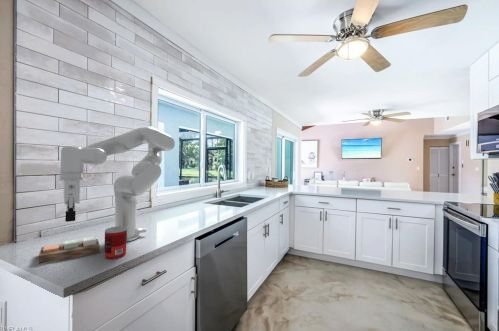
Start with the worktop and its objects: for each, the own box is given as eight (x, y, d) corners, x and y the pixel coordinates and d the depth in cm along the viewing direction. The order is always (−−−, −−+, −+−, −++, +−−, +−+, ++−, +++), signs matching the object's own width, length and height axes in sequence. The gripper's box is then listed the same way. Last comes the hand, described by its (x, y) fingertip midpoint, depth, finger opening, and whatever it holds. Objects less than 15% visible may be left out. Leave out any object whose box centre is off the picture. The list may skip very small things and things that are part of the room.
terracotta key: (59, 251, 93) (59, 244, 93) (58, 255, 90) (58, 247, 90) (44, 254, 91) (44, 246, 91) (42, 258, 87) (43, 250, 87)
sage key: (78, 246, 97) (78, 239, 97) (78, 249, 94) (78, 242, 94) (64, 248, 94) (64, 241, 94) (63, 251, 91) (63, 244, 91)
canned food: (129, 251, 98) (130, 226, 98) (119, 259, 90) (120, 231, 90) (111, 251, 97) (112, 225, 97) (100, 259, 89) (100, 231, 89)
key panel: (97, 245, 104) (97, 238, 104) (99, 252, 96) (99, 245, 96) (41, 254, 93) (41, 247, 93) (38, 264, 84) (38, 256, 84)
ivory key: (95, 243, 101) (95, 236, 101) (96, 246, 97) (96, 239, 97) (82, 245, 98) (82, 238, 98) (83, 248, 95) (83, 241, 95)
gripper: (83, 177, 90) (82, 223, 90) (82, 175, 102) (81, 216, 102) (59, 177, 86) (57, 226, 85) (61, 175, 97) (59, 218, 97)
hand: (70, 220), depth 94 cm, fingers closed
